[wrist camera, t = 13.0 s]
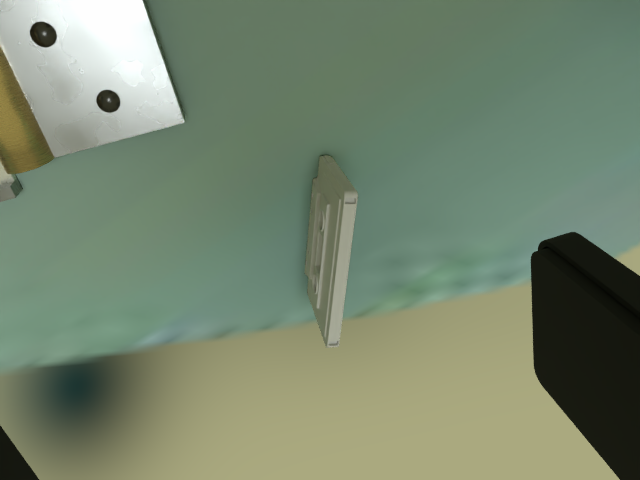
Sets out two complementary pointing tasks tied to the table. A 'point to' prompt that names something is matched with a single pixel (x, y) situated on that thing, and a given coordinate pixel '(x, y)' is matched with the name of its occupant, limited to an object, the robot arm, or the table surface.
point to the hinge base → (77, 80)
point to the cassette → (329, 246)
